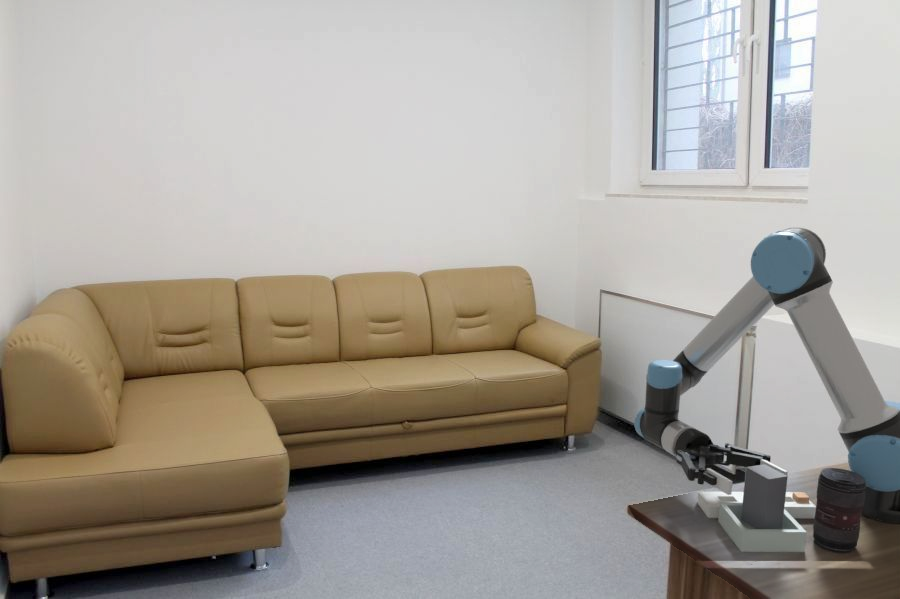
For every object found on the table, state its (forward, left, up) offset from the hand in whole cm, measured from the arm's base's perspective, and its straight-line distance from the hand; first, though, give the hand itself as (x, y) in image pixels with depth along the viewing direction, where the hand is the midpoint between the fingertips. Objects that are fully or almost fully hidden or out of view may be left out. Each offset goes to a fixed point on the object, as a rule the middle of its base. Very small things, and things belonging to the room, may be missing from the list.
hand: (758, 483), depth 152 cm
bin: (-1, 0, -11) cm, 12 cm away
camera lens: (-11, -9, -12) cm, 19 cm away
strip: (+6, -9, -11) cm, 16 cm away
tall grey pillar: (-1, 0, -11) cm, 11 cm away
